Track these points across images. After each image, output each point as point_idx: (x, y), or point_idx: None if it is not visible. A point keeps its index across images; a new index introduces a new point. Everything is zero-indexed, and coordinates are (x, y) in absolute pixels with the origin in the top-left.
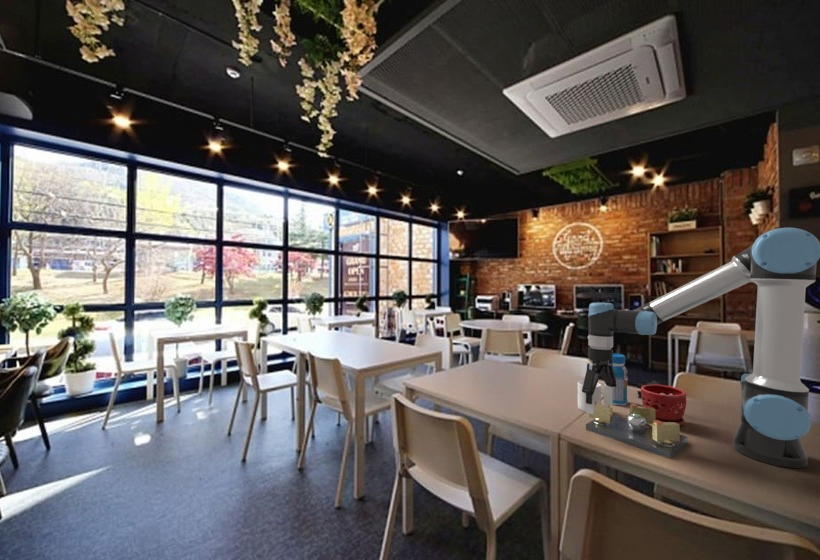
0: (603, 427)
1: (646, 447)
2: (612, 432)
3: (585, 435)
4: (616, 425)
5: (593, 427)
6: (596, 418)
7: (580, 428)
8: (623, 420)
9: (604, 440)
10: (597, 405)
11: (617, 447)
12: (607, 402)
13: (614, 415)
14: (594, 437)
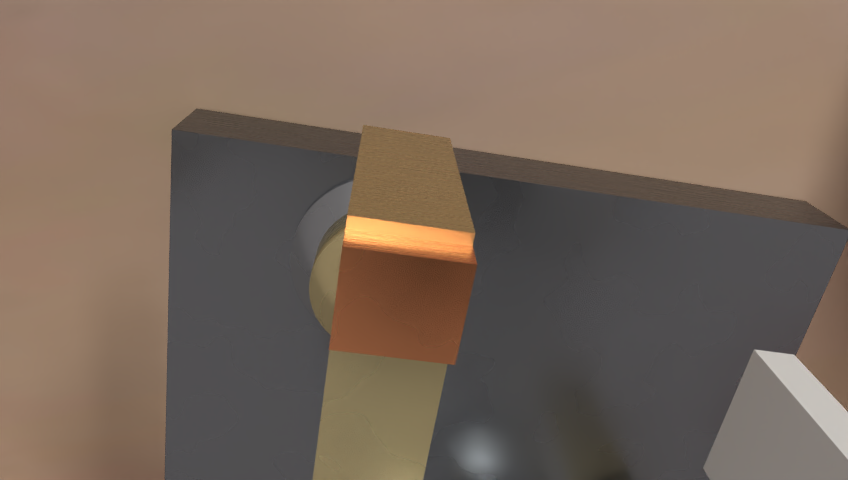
0: (243, 333)
1: None
2: (171, 437)
3: (12, 160)
4: (436, 418)
5: (173, 229)
6: (330, 255)
7: (182, 36)
8: (671, 433)
9: (73, 348)
10: (326, 390)
11: (22, 466)
12: (747, 431)
13: (804, 322)
14: (54, 254)
